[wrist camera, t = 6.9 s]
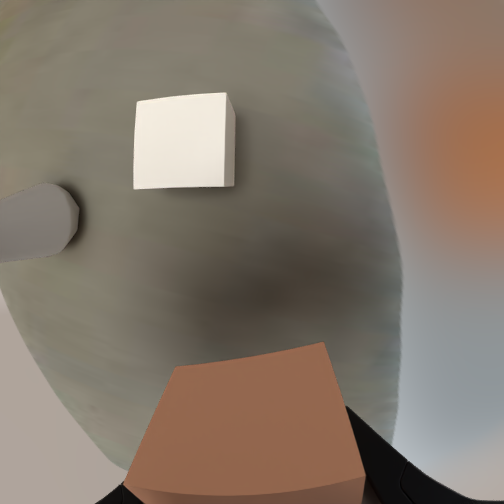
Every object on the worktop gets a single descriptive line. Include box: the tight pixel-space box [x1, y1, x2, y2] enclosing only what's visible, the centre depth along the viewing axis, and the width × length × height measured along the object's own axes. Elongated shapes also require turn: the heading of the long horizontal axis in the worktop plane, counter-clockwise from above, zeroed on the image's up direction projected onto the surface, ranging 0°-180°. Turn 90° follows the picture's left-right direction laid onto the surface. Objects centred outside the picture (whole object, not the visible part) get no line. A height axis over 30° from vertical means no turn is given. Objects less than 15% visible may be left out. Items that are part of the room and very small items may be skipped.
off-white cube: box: [134, 93, 236, 189], centre depth 16 cm, size 5×5×5 cm
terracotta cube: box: [123, 342, 366, 504], centre depth 7 cm, size 5×5×5 cm
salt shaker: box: [0, 183, 79, 263], centre depth 13 cm, size 6×6×13 cm
